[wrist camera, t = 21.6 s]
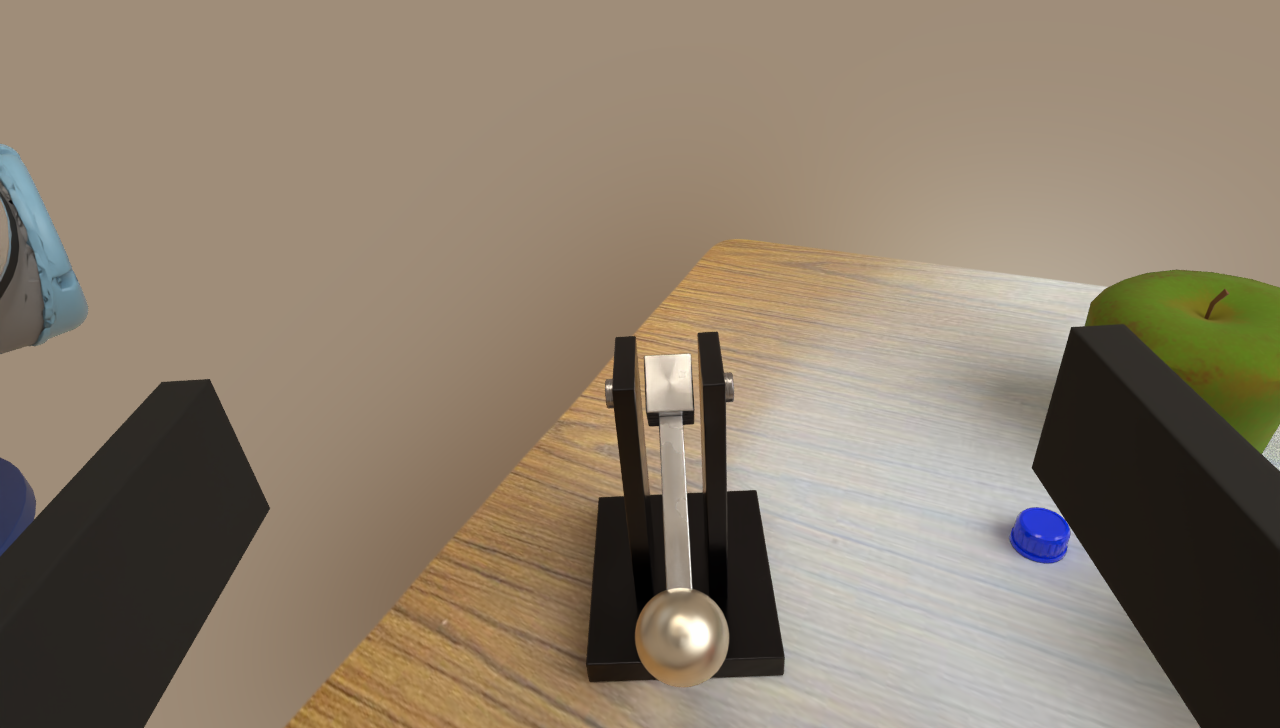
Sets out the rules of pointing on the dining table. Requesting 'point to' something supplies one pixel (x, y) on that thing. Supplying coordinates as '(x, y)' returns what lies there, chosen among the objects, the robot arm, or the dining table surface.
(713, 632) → the lever
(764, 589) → the tap bracket
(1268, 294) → the apple
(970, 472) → the dining table surface
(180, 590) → the robot arm
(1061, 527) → the bottle cap
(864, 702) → the dining table surface
